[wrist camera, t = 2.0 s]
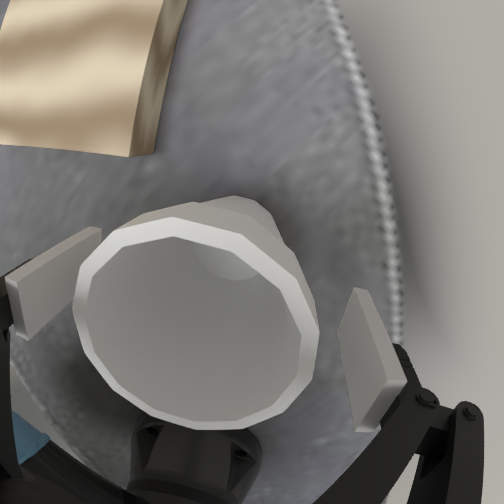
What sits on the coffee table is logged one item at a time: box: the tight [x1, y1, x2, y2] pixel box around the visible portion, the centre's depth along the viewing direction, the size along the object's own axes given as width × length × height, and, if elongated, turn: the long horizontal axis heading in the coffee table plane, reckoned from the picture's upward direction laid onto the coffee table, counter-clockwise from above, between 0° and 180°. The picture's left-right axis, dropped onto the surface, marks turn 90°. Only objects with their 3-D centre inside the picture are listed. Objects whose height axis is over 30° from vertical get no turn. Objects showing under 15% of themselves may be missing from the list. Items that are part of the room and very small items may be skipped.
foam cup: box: [72, 195, 320, 430], centre depth 17 cm, size 10×9×13 cm
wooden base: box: [0, 0, 188, 157], centre depth 17 cm, size 16×16×4 cm
